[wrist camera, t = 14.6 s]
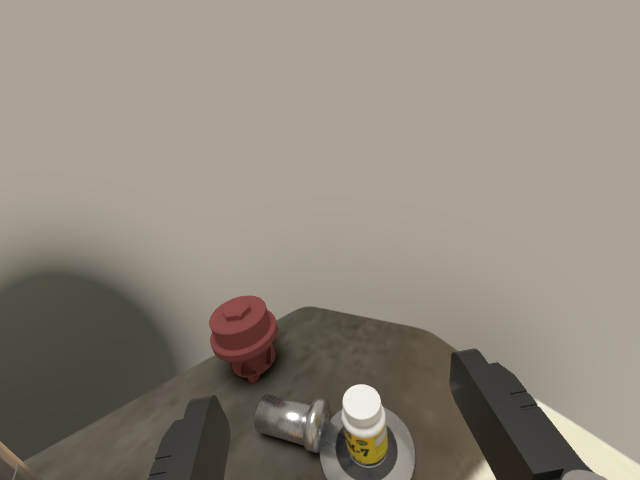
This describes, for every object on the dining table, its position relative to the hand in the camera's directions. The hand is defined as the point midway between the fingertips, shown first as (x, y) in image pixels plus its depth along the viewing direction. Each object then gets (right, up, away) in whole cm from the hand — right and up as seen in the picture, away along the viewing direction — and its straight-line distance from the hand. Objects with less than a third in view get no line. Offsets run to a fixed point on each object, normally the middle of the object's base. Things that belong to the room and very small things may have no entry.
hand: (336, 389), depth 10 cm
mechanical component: (-11, -16, +40) cm, 44 cm away
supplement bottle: (+5, -19, +25) cm, 32 cm away
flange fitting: (+1, -20, +27) cm, 34 cm away
